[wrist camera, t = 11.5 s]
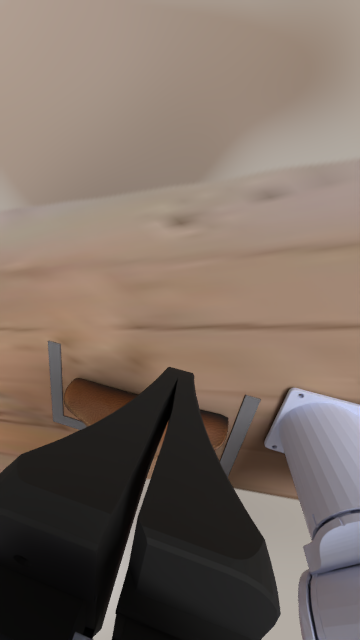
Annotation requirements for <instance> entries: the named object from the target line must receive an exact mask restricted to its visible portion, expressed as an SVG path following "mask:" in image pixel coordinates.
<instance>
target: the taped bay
mask: <svg viewBox="0 0 360 640" xmlns="http://www.w3.org/2000/svg"><path fill="white" fill-rule="evenodd" d="M48 351H49V366H50V381H51V395H52V410H53V421H54V422H57V423H60V424H63V425H66V426H69V427H72V428H76V429H79V430H82V429H84V428H86V427H87V426H86V425H85V424H84V423H83V422H82V421H79V420H76V419H72V418H69V417H66V416H63V392H62V368H61V344H58V343H55V342H51V341H48ZM260 400H261V399H258V398H255V397H251V396H247V395H245V398H244V401H243V403H242V406H241V408H240V411H239V414H238V416H237V419H236V421H235V424H234V426H233V429H232V432H231V434H230V437H229V439H228V442H227V445H226V447H225V450H224V452H223V455H222V458H221V460H220V463H221V465H222V467H223V469H224V471H225V473H226V475H227V477H228V475H229V473H230V471H231V468H232V466H233V464H234V461H235V459H236V457H237V454H238V452H239V450H240V447H241V445H242V443H243V440H244V438H245V435H246V433H247V431H248V428H249V426H250V424H251V421H252V419H253V417H254V414H255V412H256V410H257V407H258V405H259V403H260Z"/></svg>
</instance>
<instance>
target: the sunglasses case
mask: <svg viewBox="0 0 360 640" xmlns="http://www.w3.org/2000/svg"><path fill="white" fill-rule="evenodd" d="M136 396H138V395H136V394H132V393H128V392H125V391H122V390H119V389H115V388H111V387H108V386H104V385H101V384H97V383H94V382H90V381H87V380H84V379H80V378H76V379H74V380H73V381H72V382H71V383H70V384H69V386H68V387H67V389H66V391H65V394H64V404H65V406H66V408H67V409H68V410H69V411H70V412H72V413H73V414H74V415H75V416H76V417H78V418H79V419H80V420H81V421H82V422H83V423H84V424H85V425H86V426H87V427H88V426H90V425H92V424H94V423H96V422H98V421H99V420H101V419H103V418H105V417H106V416H108V415H110V414H111V413H113V412H115V411H116V410H118V409H119V408H121V407H123V406H124V405H125V404H127V403H128V402H130V401H131V400H132V399H134V398H135V397H136ZM200 413H201V416H202V419H203V423H204V426H205V428H206V431H207V434H208V436H209V439H210V441H211V444H212V446H213V448H214V451H215V449H217V448H219V447H220V446H221V445H222V444H223V443H224V441H225V439H226V436H227V432H228V423H229V421H228V417H225V416H223V415H219V414H215V413H211V412H207V411H202V410H200ZM168 421H169V420H168ZM167 426H168V423H167V425H166V428H165V431H164V433H163V436H162V438H161V441H160V443H159V446H158V448H157V451H156V453H155V456H158V455H159V452H160V449H161V446H162V443H163V440H164V437H165V434H166V430H167Z"/></svg>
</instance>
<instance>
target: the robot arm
mask: <svg viewBox="0 0 360 640" xmlns="http://www.w3.org/2000/svg"><path fill="white" fill-rule="evenodd" d="M299 394H302V395H299ZM168 420H169V421H168ZM167 423H168V426H167V430H166V434H165V437H164V440H163V443H162V446H161V449H160V452H159V455H158V459H157V462H156V465H155V468H154V471H153V474H152V477H151V480H150V483H149V486H148V489H147V492H146V495H145V498H144V501H143V504H142V507H141V510H140V512H139V515H138V519H137V524H136V530H135V535H134V540H133V545H132V551H131V556H130V562H129V566H128V570H127V573H126V577H125V581H124V584H123V588H122V591H121V594H120V598H119V601H118V605H117V608H116V619H115V625H114V631H113V636H112V640H261V639H262V638H263V637H264V636H265V634H267V633H268V632H269V630H271V628H272V627H273V626H274V625H275V623H276V622H277V620H278V618H279V616H280V606H279V598H278V591H277V586H276V581H275V577H274V573H273V569H272V565H271V561H270V557H269V554H268V550H267V546H266V543H265V539H264V538H263V536H262V535H261V533H260V532H259V530H258V529H257V527H256V525H255V524H254V522H253V521H252V519H251V518H250V516H249V514H248V512H247V511H246V509H245V508H244V506H243V504H242V502H241V501H240V499H239V497H238V495H237V494H236V492H235V490H234V488H233V487H232V485H231V483H230V481H229V479H228V477H227V475H226V473H225V471H224V469H223V467H222V465H221V463H220V461H219V459H218V457H217V455H216V453H215V451H214V448H213V446H212V444H211V441H210V439H209V436H208V434H207V431H206V428H205V426H204V423H203V419H202V416H201V413H200V409H199V405H198V401H197V397H196V392H195V385H194V375H193V373H190V372H186V371H183V370H179V369H175V368H171V367H168V368H167V369H166V370H165V371H164V372H163V373H162V374H161V375H160V376H159V377H158V378H157V379H156V380H155V381H154V382H153V383H152V384H151V385H150V386H149V387H148V388H146V389H145V390H144V391H143V392H141V393H140V394H139V395H138V396H136V397H135V398H134V399H132V400H131V401H130V402H128V403H127V404H125V405H124V406H123V407H121V408H119V409H118V410H116V411H115V412H113V413H111V414H110V415H108V416H106V417H105V418H103V419H101V420H99V421H98V422H96V423H94V424H92V425H90V426H88V427H86V428H84V429H82V430H79V431H77V432H75V433H73V434H71V435H69V436H67V437H65V438H62V439H60V440H58V441H55V442H52V443H50V444H47V445H45V446H42V447H39V448H37V449H34V450H32V451H29V452H26V453H23V454H21V455H20V456H19V457H18V458H17V459H16V460H14V461H13V462H12V463H11V464H10V465H9V466H8V467H6V468H5V469H4V470H3V471H2V472H1V473H0V640H93V639H92V638H93V636H95V635H96V633H98V632H99V631H100V630H101V628H102V625H103V621H104V618H105V614H106V611H107V607H108V604H109V601H110V597H111V594H112V591H113V587H114V584H115V580H116V577H117V573H118V570H119V567H120V564H121V560H122V557H123V554H124V550H125V547H126V544H127V540H128V537H129V533H130V530H131V526H132V523H133V520H134V517H135V514H136V510H137V507H138V503H139V500H140V497H141V494H142V491H143V487H144V484H145V481H146V478H147V474H148V472H149V469H150V466H151V463H152V461H153V458H154V456H155V453H156V451H157V448H158V446H159V443H160V441H161V438H162V436H163V433H164V431H165V428H166V425H167ZM264 444H265V447H266V448H268V449H272V450H275V451H278V452H282V453H285V456H286V459H287V462H288V465H289V469H290V472H291V475H292V478H293V482H294V485H295V488H296V491H297V495H298V498H299V501H300V504H301V507H302V511H303V514H304V517H305V520H306V524H307V527H308V530H309V533H310V537H311V540H312V542H311V543H309V544H307V545H305V546H303V548H304V552H305V556H306V559H307V563H308V567H309V569H308V570H306V571H305V572H303V574H302V575H301V577H300V581H299V588H298V590H299V591H298V601H299V618H300V626H301V633H302V638H303V640H360V405H359V404H355V403H351V402H348V401H344V400H340V399H336V398H332V397H329V396H325V395H321V394H317V393H313V392H310V391H306V390H302V389H298V388H291V389H290V390H289V391H288V393H287V396H286V398H285V400H284V402H283V404H282V406H281V408H280V410H279V412H278V414H277V416H276V418H275V420H274V422H273V425H272V427H271V429H270V431H269V433H268V435H267V437H266V439H265V441H264Z"/></svg>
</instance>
